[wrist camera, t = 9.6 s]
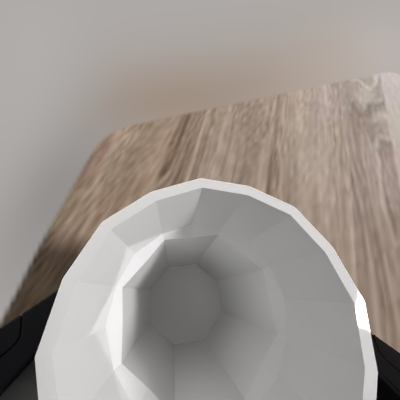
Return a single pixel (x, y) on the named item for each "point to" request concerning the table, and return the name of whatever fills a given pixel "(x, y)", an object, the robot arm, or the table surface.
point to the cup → (207, 306)
